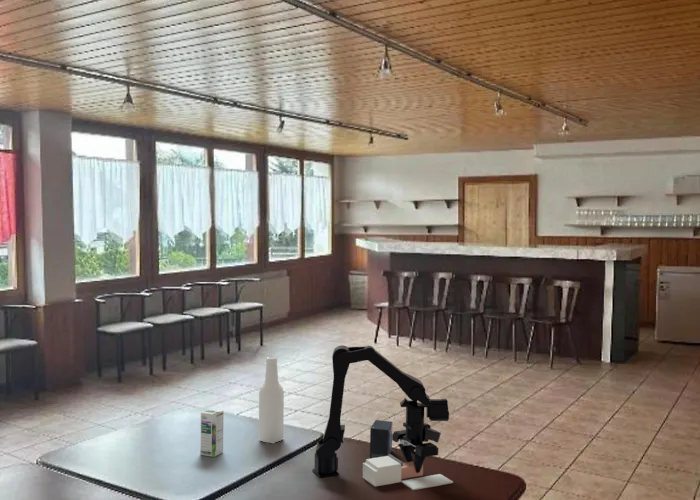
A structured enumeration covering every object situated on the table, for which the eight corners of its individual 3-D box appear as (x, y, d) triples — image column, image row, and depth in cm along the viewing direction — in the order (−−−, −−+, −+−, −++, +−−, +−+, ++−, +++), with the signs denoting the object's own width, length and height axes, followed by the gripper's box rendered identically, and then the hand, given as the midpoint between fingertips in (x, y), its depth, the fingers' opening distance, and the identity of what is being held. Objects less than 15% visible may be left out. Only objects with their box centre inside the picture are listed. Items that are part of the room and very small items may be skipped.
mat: (413, 490, 193) (413, 488, 193) (401, 481, 200) (401, 480, 200) (453, 482, 199) (453, 481, 199) (440, 475, 206) (440, 473, 206)
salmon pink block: (386, 482, 200) (386, 470, 200) (379, 477, 203) (380, 466, 203) (422, 475, 205) (423, 464, 205) (416, 471, 209) (416, 460, 209)
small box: (388, 461, 218) (388, 429, 218) (369, 459, 219) (369, 428, 219) (392, 450, 229) (393, 420, 228) (374, 449, 230) (374, 419, 230)
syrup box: (199, 455, 222) (199, 412, 221) (209, 449, 227) (209, 408, 227) (214, 457, 220) (214, 414, 219) (223, 452, 225) (224, 409, 225)
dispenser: (374, 486, 196) (375, 466, 196) (362, 477, 203) (362, 458, 203) (402, 481, 200) (403, 462, 200) (390, 472, 207) (390, 454, 207)
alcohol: (255, 442, 235) (255, 359, 235) (263, 435, 244) (264, 354, 243) (278, 444, 233) (279, 360, 233) (286, 437, 242) (287, 355, 241)
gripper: (453, 425, 201) (452, 476, 201) (421, 410, 218) (420, 457, 218) (422, 430, 196) (421, 482, 197) (391, 414, 213) (391, 462, 213)
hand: (414, 470), depth 206 cm, fingers closed on salmon pink block, 4 cm apart
